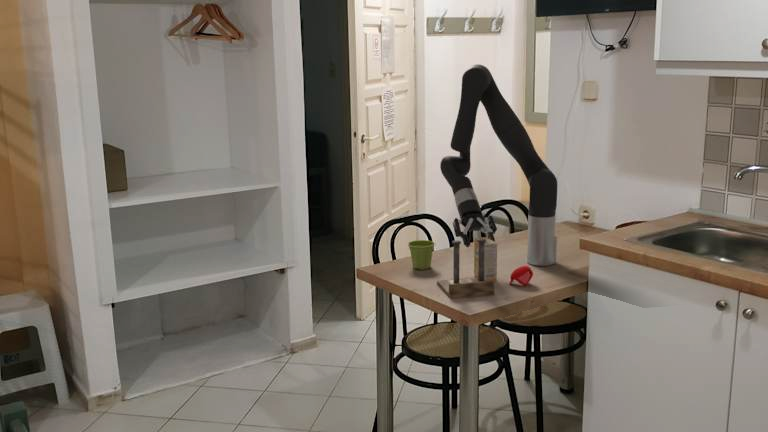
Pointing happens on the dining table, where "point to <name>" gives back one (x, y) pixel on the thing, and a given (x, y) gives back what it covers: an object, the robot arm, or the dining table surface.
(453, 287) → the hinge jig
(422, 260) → the plant pot
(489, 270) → the supplement box
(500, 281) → the dining table surface
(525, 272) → the cap
